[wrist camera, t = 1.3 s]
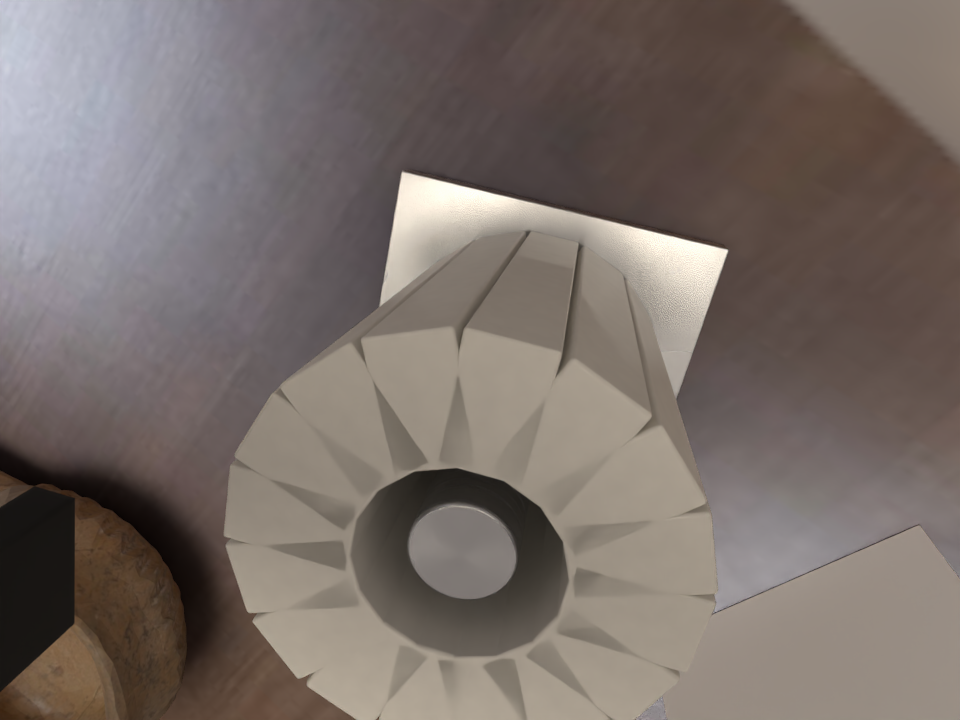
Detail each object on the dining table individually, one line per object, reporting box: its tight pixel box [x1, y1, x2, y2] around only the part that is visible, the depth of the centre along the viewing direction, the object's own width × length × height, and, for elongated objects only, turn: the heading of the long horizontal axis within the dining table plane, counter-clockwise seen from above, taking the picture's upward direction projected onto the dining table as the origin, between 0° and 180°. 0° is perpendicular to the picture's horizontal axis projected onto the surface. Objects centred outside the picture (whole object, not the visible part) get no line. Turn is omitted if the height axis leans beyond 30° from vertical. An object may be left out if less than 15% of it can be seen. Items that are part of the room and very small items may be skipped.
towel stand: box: [378, 170, 729, 600], centre depth 20 cm, size 12×12×14 cm
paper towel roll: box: [224, 231, 718, 720], centre depth 19 cm, size 10×10×13 cm
